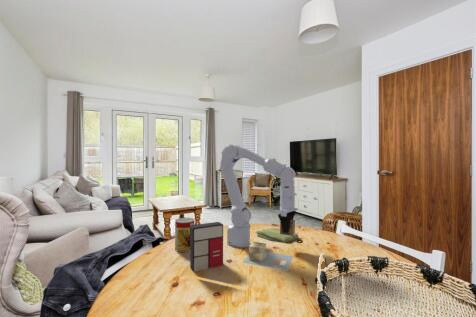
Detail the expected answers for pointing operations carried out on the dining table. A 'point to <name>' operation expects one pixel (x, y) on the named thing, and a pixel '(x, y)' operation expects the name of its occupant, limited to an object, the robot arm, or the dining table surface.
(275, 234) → the washcloth
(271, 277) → the dining table surface
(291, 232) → the walnut block
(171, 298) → the dining table surface
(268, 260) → the board
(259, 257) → the birch block
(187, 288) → the dining table surface
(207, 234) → the grey toy cabinet
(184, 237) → the canned food
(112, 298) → the dining table surface
